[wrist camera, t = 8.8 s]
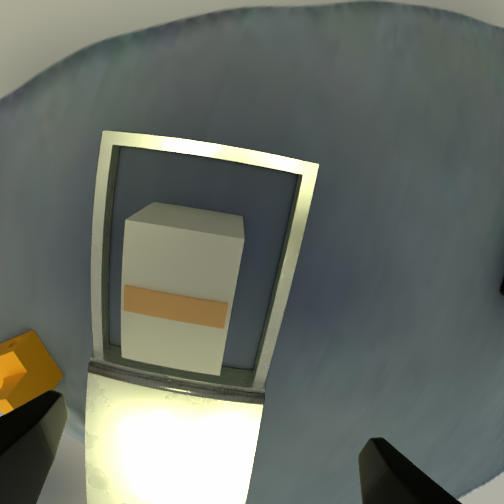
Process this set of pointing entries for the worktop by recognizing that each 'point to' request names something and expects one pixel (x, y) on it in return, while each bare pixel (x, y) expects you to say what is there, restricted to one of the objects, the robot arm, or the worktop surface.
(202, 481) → the case
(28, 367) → the pipe clamp
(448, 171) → the worktop surface
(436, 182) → the worktop surface
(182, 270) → the block
